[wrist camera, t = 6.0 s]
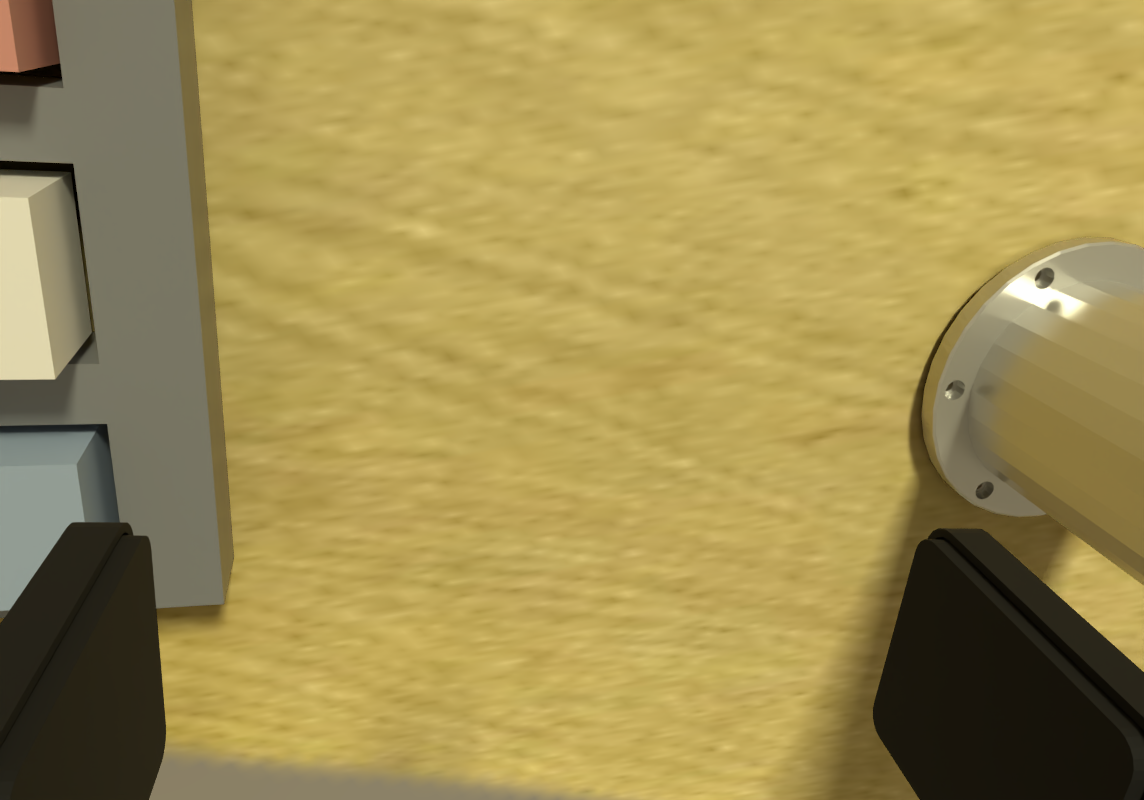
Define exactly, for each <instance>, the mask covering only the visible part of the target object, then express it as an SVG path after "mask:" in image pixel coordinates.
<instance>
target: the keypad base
mask: <svg viewBox="0 0 1144 800" xmlns="http://www.w3.org/2000/svg"><path fill="white" fill-rule="evenodd" d="M52 3H53V10H54V18H55V26H56V34H57V41H58V49H59V57H60V64H61V72H62V78H53V77H36V76H19V75H3V74H0V161H25V162H49V163H73V165H74V172H75V180H76V188H77V196H78V203H79V211H80V219H81V226H82V234H83V242H84V249H85V257H86V265H87V273H88V280H89V288H90V296H91V303H92V311H93V319H94V327H95V332H92V333H91V334H90V336H89V337H88V338H87V339H86V341H85V342H84V343H83V345H82V346H81V347H80V348H79V350H78V351H77V352H76V353H75V355H74V356H73V357H72V359H71V360H70V361H69V362H68V364H67V365H66V366H65V368H64V369H63V370H62V371H61V373H60V374H59V375H58V376H57V378H56V379H40V380H0V426H17V425H72V424H107V427H108V435H109V442H110V450H111V458H112V465H113V473H114V481H115V489H116V496H117V504H118V512H119V519H120V522H128V523H129V524H130V525H131V528H132V531H133V535H141V536H148V537H149V540H150V543H151V551H152V563H153V575H154V587H155V600H156V608H170V607H186V606H202V605H219V604H224V602H225V597H226V593H227V588H228V583H229V578H230V574H231V569H232V564H233V560H234V552H233V539H232V526H231V512H230V499H229V486H228V473H227V460H226V447H225V433H224V420H223V407H222V394H221V381H220V368H219V354H218V341H217V328H216V315H215V302H214V289H213V276H212V262H211V249H210V236H209V223H208V210H207V197H206V183H205V170H204V157H203V144H202V131H201V118H200V105H199V91H198V78H197V65H196V52H195V39H194V26H193V12H192V0H52ZM8 612H9V610H7V611H0V618H5V616H6V615H7V613H8Z"/></svg>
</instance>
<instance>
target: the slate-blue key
mask: <svg viewBox="0 0 1144 800" xmlns="http://www.w3.org/2000/svg"><path fill="white" fill-rule="evenodd" d="M73 522H120V519H119V512H118V504H117V496H116V489H115V481H114V473H113V465H112V458H111V450H110V442H109V435H108V427H107V424H72V425H17V426H0V611H7V610H10V609H11V608H12V606H13V605H14V603H15V602H16V600H17V599H18V597H19V596H20V594H21V593H22V592H23V590H24V589H25V587H26V586H27V584H28V583H29V581H30V580H31V579H32V577H33V576H34V574H35V573H36V571H37V570H38V568H39V567H40V566H41V564H42V563H43V561H44V560H45V558H46V557H47V555H48V554H49V552H50V551H51V550H52V548H53V547H54V545H55V544H56V542H57V541H58V539H59V538H60V537H61V535H62V534H63V532H64V531H65V529H66V528H67V527H68V526H69V525H70V524H71V523H73Z"/></svg>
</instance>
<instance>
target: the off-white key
mask: <svg viewBox="0 0 1144 800" xmlns="http://www.w3.org/2000/svg"><path fill="white" fill-rule="evenodd" d="M91 333H92V330H91V322H90V314H89V307H88V299H87V291H86V284H85V276H84V269H83V261H82V253H81V246H80V238H79V230H78V223H77V215H76V208H75V200H74V192H73V185H72V177H71V172H60V171H34V170H9V169H0V380H40V379H56V378H57V376H58V375H59V374H60V373H61V371H62V370H63V369H64V368H65V366H66V365H67V364H68V362H69V361H70V360H71V359H72V357H73V356H74V355H75V353H76V352H77V351H78V350H79V348H80V347H81V346H82V345H83V343H84V342H85V341H86V339H87V338H88V337H89V336H90V334H91Z"/></svg>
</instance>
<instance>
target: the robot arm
mask: <svg viewBox="0 0 1144 800" xmlns="http://www.w3.org/2000/svg"><path fill="white" fill-rule="evenodd" d="M922 426H923V437H924V441H925V444H926V447H927V451H928V454H929V457H930V460H931V462H932V463H933V465H934V466H935V468H936V470H937V471H938V473H939V474H940V476H941V478H942V479H943V480H944V481H945V482H946V483H948V484H949V485H950V486H951V487H952V488H953V489H954V490H955V491H956V492H957V493H958V494H960V495H961V496H962V497H964V498H965V499H966V500H967V501H969V502H970V503H971V504H973V505H975V506H977V507H979V508H982V509H984V510H987V511H989V512H992V513H994V514H999V515H1006V516H1012V517H1030V516H1042V515H1046V514H1048V515H1049V516H1050V517H1052V518H1053V519H1054V520H1056V521H1057V522H1058V523H1060V524H1061V525H1063V526H1064V527H1065V528H1067V529H1068V530H1069V531H1071V532H1072V533H1073V534H1075V535H1076V536H1077V537H1079V538H1080V539H1081V540H1083V541H1084V542H1085V543H1087V544H1088V545H1090V546H1091V547H1092V548H1094V549H1095V550H1096V551H1098V552H1099V553H1100V554H1102V555H1103V556H1104V557H1106V558H1107V559H1108V560H1110V561H1111V562H1112V563H1114V564H1115V565H1117V566H1118V567H1119V568H1121V569H1122V570H1123V571H1125V572H1126V573H1127V574H1129V575H1130V576H1131V577H1133V578H1134V579H1135V580H1137V581H1138V582H1139V583H1141V584H1142V585H1144V248H1143V247H1140V246H1138V245H1135V244H1131V243H1128V242H1124V241H1120V240H1116V239H1113V238H1100V237H1083V238H1077V239H1072V240H1066V241H1061V242H1057V243H1054V244H1052V245H1049V246H1047V247H1044V248H1041V249H1039V250H1036V251H1034V252H1031V253H1030V254H1028V255H1026V256H1025V257H1023V258H1021V259H1020V260H1018V261H1016V262H1014V263H1013V264H1011V265H1009V266H1008V267H1006V268H1005V269H1004V270H1002V271H1001V272H1000V273H999V274H998V275H996V276H995V277H994V278H993V279H991V280H990V281H989V282H988V283H987V284H985V285H984V286H983V287H982V288H981V289H980V290H979V291H978V292H977V293H976V295H975V296H974V297H973V298H972V299H971V300H970V301H969V302H968V303H967V304H966V306H965V307H964V308H963V309H962V310H961V312H960V313H959V315H958V316H957V317H956V319H955V320H954V322H953V323H952V325H951V326H950V328H949V329H948V331H947V332H946V334H945V335H944V338H943V340H942V342H941V344H940V346H939V348H938V350H937V352H936V354H935V357H934V359H933V361H932V364H931V367H930V371H929V374H928V377H927V381H926V384H925V388H924V396H923V405H922ZM873 719H874V725H875V728H876V731H877V733H878V735H879V737H880V739H881V740H882V742H883V744H884V745H885V747H886V748H887V750H888V751H889V753H890V754H891V756H892V757H893V759H894V760H895V762H896V764H897V765H898V767H899V768H900V770H901V771H902V773H903V774H904V776H905V777H906V779H907V781H908V782H909V784H910V785H911V787H912V788H913V790H914V791H915V793H916V794H917V796H918V798H919V799H920V800H1144V672H1143V671H1142V670H1141V669H1140V668H1138V667H1137V666H1136V665H1135V664H1134V663H1133V662H1132V661H1131V660H1129V659H1128V658H1127V657H1126V656H1125V655H1124V654H1123V653H1122V652H1121V651H1119V650H1118V649H1117V648H1116V647H1115V646H1114V645H1113V644H1112V643H1110V642H1109V641H1108V640H1107V639H1106V638H1105V637H1104V636H1103V635H1101V634H1100V633H1099V632H1098V631H1097V630H1096V629H1095V628H1094V627H1093V626H1091V625H1090V624H1089V623H1088V622H1087V621H1086V620H1085V619H1084V618H1082V617H1081V616H1080V615H1079V614H1078V613H1077V612H1076V611H1075V610H1074V609H1072V608H1071V607H1070V606H1069V605H1068V604H1067V603H1066V602H1065V601H1063V600H1062V599H1061V598H1060V597H1059V596H1058V595H1057V594H1056V593H1055V592H1053V591H1052V590H1051V589H1050V588H1049V587H1048V586H1047V585H1046V584H1044V583H1043V582H1042V581H1041V580H1040V579H1039V578H1038V577H1037V576H1035V575H1034V574H1033V573H1032V572H1031V571H1030V570H1029V569H1028V568H1027V567H1025V566H1024V565H1023V564H1022V563H1021V562H1020V561H1019V560H1018V559H1016V558H1015V557H1014V556H1013V555H1012V554H1011V553H1010V552H1009V551H1008V550H1006V549H1005V548H1004V547H1003V546H1002V545H1001V544H1000V543H999V542H997V541H996V540H995V539H994V538H993V537H992V536H991V535H990V534H989V533H987V532H985V531H984V530H982V529H937V530H935V531H933V532H932V533H931V535H930V536H929V537H928V539H925V540H923V541H921V542H920V544H919V545H918V546H917V549H916V551H915V555H914V559H913V563H912V566H911V570H910V574H909V577H908V581H907V585H906V588H905V592H904V596H903V599H902V603H901V607H900V610H899V614H898V618H897V621H896V625H895V629H894V632H893V636H892V640H891V643H890V647H889V651H888V654H887V658H886V662H885V665H884V669H883V673H882V676H881V680H880V684H879V687H878V691H877V695H876V698H875V702H874V707H873ZM165 740H166V722H165V710H164V698H163V685H162V673H161V661H160V649H159V636H158V624H157V612H156V600H155V587H154V575H153V563H152V551H151V543H150V540H149V537H148V536H141V535H133V531H132V528H131V525H130V524H129V523H128V522H73V523H71V524H70V525H69V526H68V527H67V528H66V529H65V531H64V532H63V534H62V535H61V537H60V538H59V539H58V541H57V542H56V544H55V545H54V547H53V548H52V550H51V551H50V552H49V554H48V555H47V557H46V558H45V560H44V561H43V563H42V564H41V566H40V567H39V568H38V570H37V571H36V573H35V574H34V576H33V577H32V579H31V580H30V581H29V583H28V584H27V586H26V587H25V589H24V590H23V592H22V593H21V594H20V596H19V597H18V599H17V600H16V602H15V603H14V605H13V606H12V608H11V609H10V610H9V612H8V613H7V615H6V616H5V618H4V619H3V621H2V622H1V623H0V800H149V797H150V795H151V791H152V789H153V786H154V783H155V780H156V777H157V774H158V771H159V768H160V765H161V762H162V759H163V754H164V748H165Z"/></svg>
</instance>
